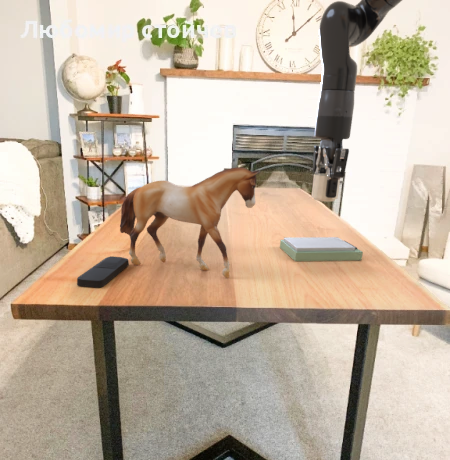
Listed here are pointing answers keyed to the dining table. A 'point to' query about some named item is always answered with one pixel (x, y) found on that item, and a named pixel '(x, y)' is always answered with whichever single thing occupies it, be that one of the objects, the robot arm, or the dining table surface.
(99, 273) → the remote control
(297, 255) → the scale
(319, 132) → the robot arm
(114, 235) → the dining table surface
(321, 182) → the white ceramic cup
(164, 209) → the horse figurine
